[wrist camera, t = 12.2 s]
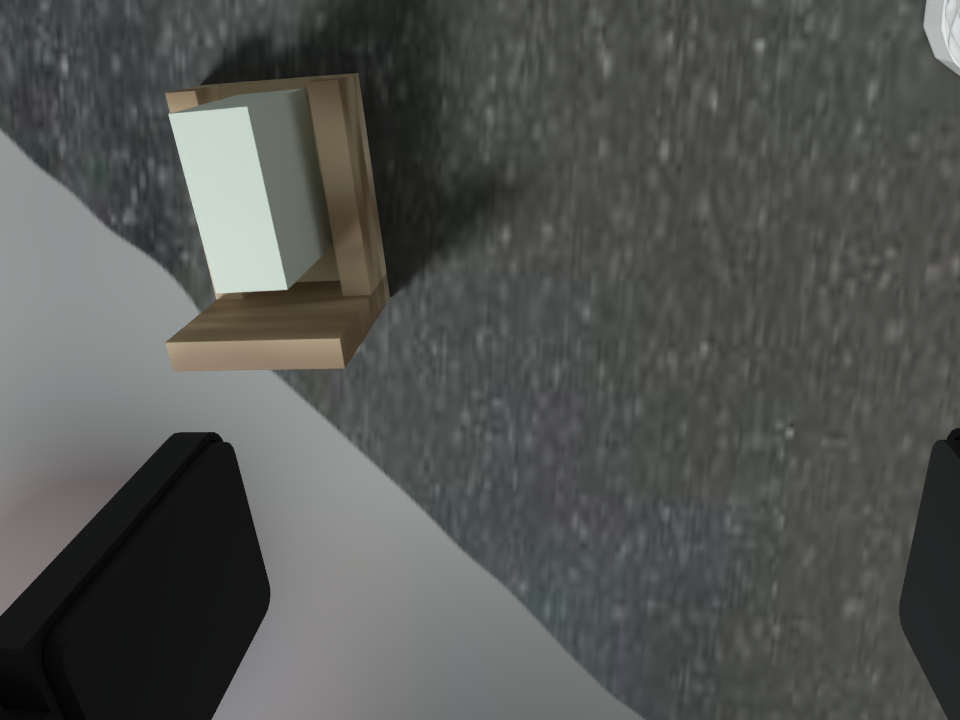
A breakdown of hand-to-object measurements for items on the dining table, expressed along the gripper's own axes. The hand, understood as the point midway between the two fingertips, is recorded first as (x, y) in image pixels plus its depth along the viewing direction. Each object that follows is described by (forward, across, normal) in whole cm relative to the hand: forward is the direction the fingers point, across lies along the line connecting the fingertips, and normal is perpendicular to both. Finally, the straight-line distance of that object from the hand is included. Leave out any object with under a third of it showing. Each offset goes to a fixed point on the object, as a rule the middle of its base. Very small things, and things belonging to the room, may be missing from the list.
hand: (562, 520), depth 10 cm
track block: (+30, +15, +2) cm, 34 cm away
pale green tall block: (+29, +15, 0) cm, 33 cm away
